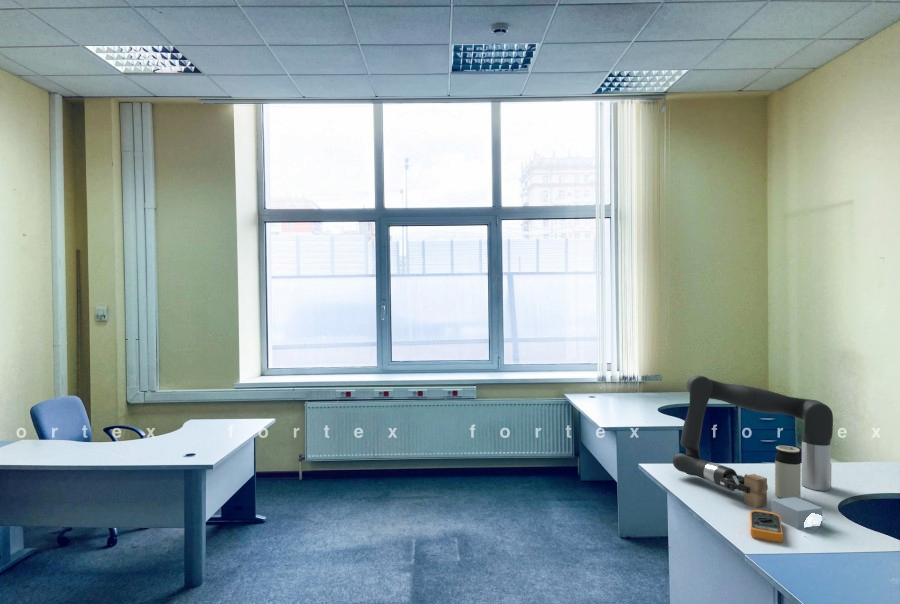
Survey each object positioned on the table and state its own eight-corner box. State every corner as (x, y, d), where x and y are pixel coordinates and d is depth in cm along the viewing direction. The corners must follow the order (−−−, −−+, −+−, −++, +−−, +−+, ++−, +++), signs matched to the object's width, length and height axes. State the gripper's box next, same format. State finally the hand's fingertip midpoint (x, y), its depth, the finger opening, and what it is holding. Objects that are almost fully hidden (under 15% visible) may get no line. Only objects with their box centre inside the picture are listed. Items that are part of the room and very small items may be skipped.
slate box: (795, 514, 184) (795, 496, 184) (822, 526, 175) (822, 508, 175) (771, 517, 182) (771, 499, 182) (797, 529, 172) (797, 511, 172)
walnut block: (754, 501, 195) (754, 473, 195) (766, 506, 191) (766, 478, 191) (744, 503, 194) (744, 475, 193) (756, 508, 189) (756, 480, 189)
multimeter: (779, 523, 178) (779, 512, 178) (783, 545, 162) (783, 534, 162) (750, 518, 182) (750, 507, 182) (750, 539, 166) (750, 528, 166)
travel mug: (787, 501, 195) (787, 451, 195) (769, 493, 203) (770, 445, 203) (805, 499, 197) (806, 450, 197) (787, 492, 205) (788, 444, 204)
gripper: (705, 467, 203) (744, 481, 188) (733, 463, 209) (772, 475, 194) (705, 487, 203) (743, 502, 188) (733, 482, 209) (772, 496, 194)
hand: (758, 489), depth 191 cm, fingers open, 8 cm apart
